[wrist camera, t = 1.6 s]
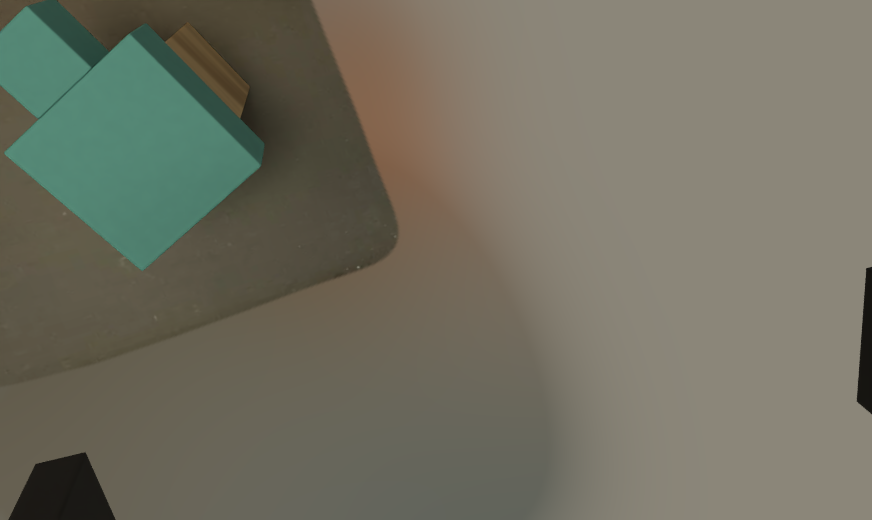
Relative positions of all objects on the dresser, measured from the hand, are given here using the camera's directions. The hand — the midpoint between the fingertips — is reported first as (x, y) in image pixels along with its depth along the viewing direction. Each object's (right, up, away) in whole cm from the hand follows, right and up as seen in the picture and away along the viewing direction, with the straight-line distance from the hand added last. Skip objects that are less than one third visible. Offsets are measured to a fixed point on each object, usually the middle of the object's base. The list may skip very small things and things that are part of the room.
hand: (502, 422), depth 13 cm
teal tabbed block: (-15, +9, +21) cm, 27 cm away
